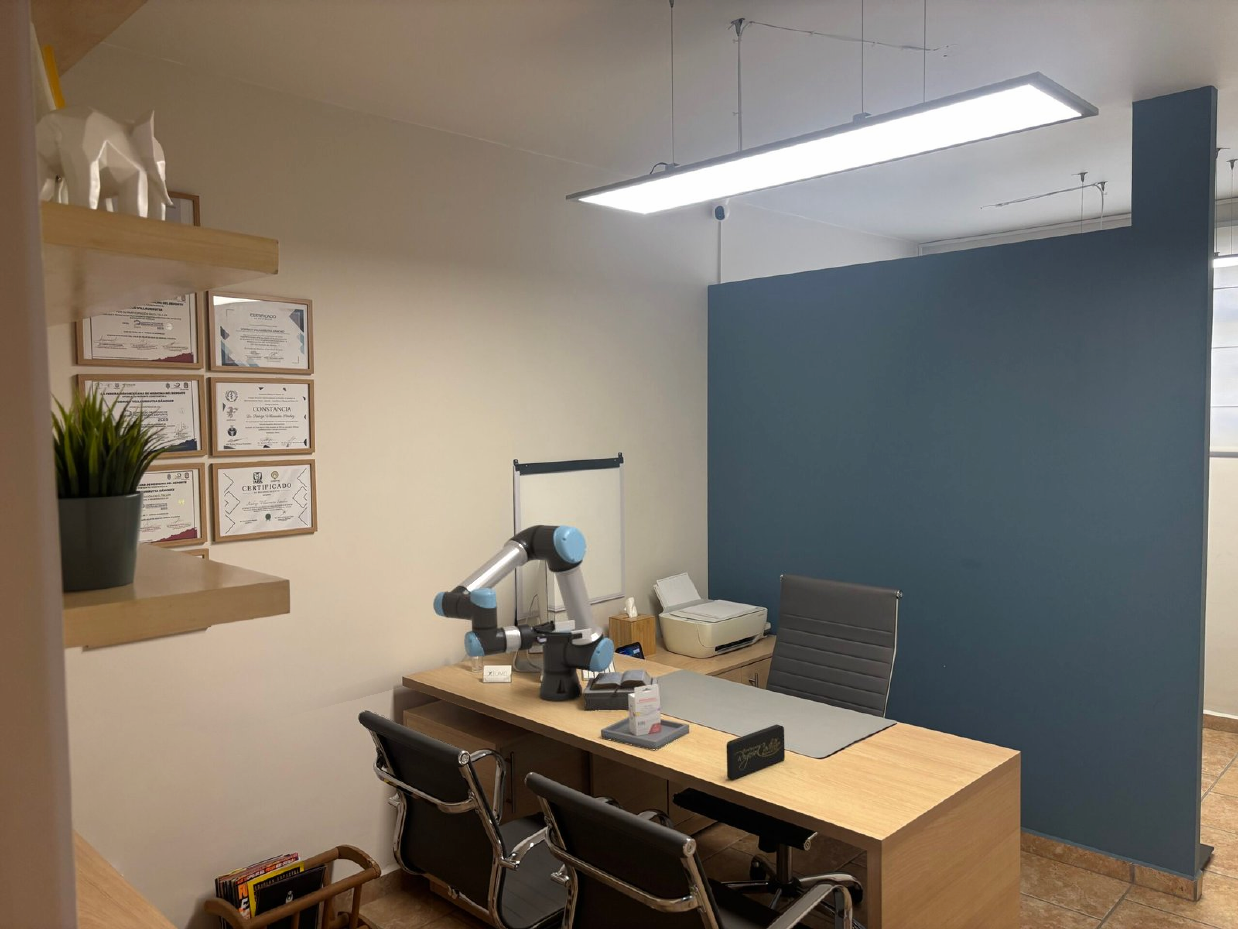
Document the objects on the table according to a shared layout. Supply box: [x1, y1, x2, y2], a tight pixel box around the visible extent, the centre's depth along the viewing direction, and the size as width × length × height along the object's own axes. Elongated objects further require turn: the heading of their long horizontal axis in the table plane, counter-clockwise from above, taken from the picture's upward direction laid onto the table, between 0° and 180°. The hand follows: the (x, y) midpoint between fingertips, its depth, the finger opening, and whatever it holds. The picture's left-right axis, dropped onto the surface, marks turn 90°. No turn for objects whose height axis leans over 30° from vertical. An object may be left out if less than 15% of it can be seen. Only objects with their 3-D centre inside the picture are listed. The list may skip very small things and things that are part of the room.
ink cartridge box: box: [628, 684, 661, 736], centre depth 269 cm, size 9×5×15 cm, turn 114°
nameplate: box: [726, 723, 786, 781], centre depth 240 cm, size 21×2×10 cm, turn 129°
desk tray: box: [600, 716, 690, 751], centre depth 269 cm, size 18×20×2 cm
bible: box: [583, 668, 659, 712], centre depth 303 cm, size 23×27×10 cm
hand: (582, 628), depth 275 cm, fingers open, 13 cm apart
